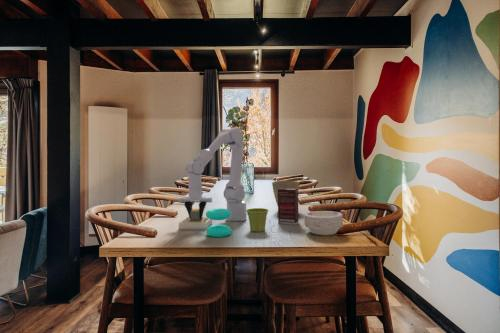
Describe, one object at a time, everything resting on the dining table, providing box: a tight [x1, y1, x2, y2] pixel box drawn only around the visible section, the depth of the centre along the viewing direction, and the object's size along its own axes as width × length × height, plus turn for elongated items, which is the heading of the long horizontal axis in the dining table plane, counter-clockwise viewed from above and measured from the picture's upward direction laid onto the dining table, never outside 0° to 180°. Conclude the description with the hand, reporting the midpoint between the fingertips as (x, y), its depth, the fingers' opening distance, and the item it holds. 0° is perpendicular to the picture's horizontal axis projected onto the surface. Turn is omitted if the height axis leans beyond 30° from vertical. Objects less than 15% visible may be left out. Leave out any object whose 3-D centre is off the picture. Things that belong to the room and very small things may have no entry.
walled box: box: [178, 216, 213, 231], centre depth 156 cm, size 12×12×3 cm
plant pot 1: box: [246, 207, 269, 233], centre depth 147 cm, size 9×9×9 cm
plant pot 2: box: [271, 180, 300, 207], centre depth 192 cm, size 15×15×16 cm
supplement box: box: [277, 188, 300, 225], centre depth 161 cm, size 9×5×16 cm, turn 65°
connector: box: [190, 208, 202, 221], centre depth 156 cm, size 4×4×6 cm
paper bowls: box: [304, 210, 344, 236], centre depth 142 cm, size 15×15×8 cm
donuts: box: [205, 208, 232, 238], centre depth 141 cm, size 10×10×10 cm
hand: (195, 218), depth 156 cm, fingers closed on connector, 4 cm apart
